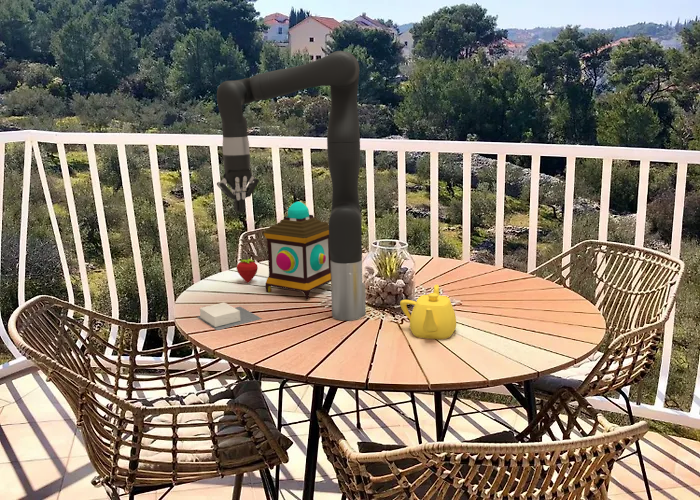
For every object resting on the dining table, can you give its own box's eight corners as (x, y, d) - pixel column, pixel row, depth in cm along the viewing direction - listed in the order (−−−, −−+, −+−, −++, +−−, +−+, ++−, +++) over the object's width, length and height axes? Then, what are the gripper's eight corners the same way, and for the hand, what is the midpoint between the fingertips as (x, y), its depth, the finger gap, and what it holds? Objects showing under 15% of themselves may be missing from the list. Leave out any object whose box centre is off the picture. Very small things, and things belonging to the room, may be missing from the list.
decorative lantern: (308, 303, 208) (305, 209, 201) (259, 293, 218) (254, 204, 211) (342, 286, 225) (340, 198, 217) (295, 278, 235) (291, 194, 227)
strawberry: (241, 279, 234) (239, 252, 232) (261, 280, 232) (259, 253, 230) (234, 284, 229) (232, 256, 226) (254, 285, 227) (253, 257, 224)
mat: (240, 307, 205) (240, 306, 205) (262, 319, 194) (262, 318, 194) (196, 318, 197) (196, 316, 197) (217, 331, 186) (217, 330, 186)
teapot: (405, 315, 195) (405, 280, 193) (458, 318, 192) (459, 283, 189) (393, 344, 175) (393, 305, 172) (452, 348, 171) (453, 308, 169)
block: (224, 302, 199) (199, 308, 194) (239, 310, 191) (214, 317, 187) (225, 312, 200) (200, 318, 195) (240, 321, 192) (215, 327, 188)
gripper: (221, 155, 182) (225, 217, 186) (263, 151, 190) (266, 211, 194) (209, 153, 188) (213, 213, 192) (250, 149, 196) (253, 207, 200)
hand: (240, 212), depth 193 cm, fingers closed
